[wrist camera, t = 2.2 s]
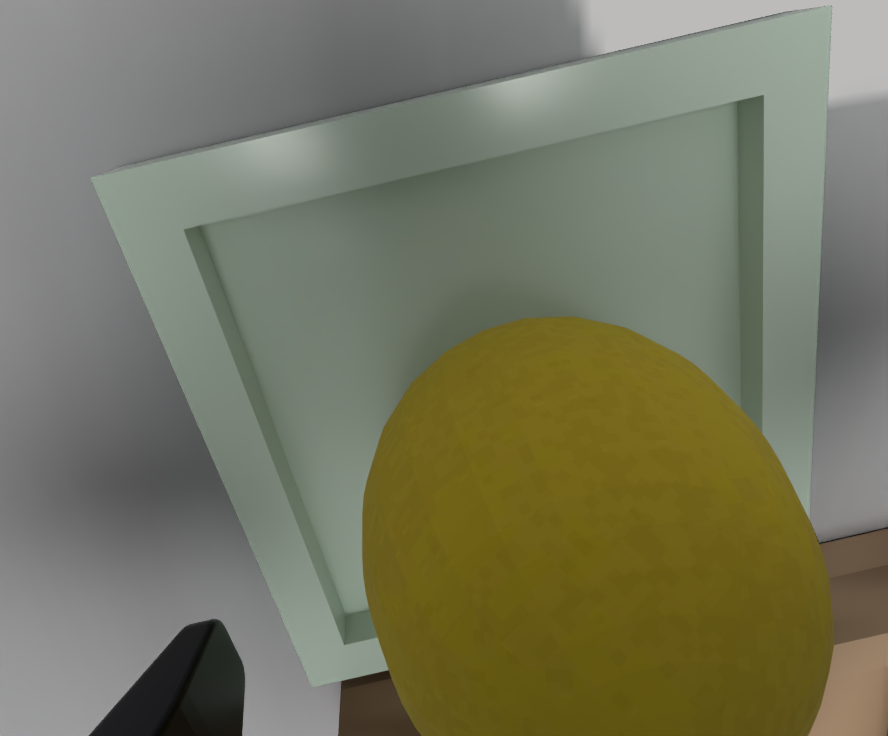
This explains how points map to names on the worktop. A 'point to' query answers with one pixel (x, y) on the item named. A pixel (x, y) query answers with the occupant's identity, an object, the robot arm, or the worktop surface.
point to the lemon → (589, 547)
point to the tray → (850, 677)
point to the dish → (479, 269)
